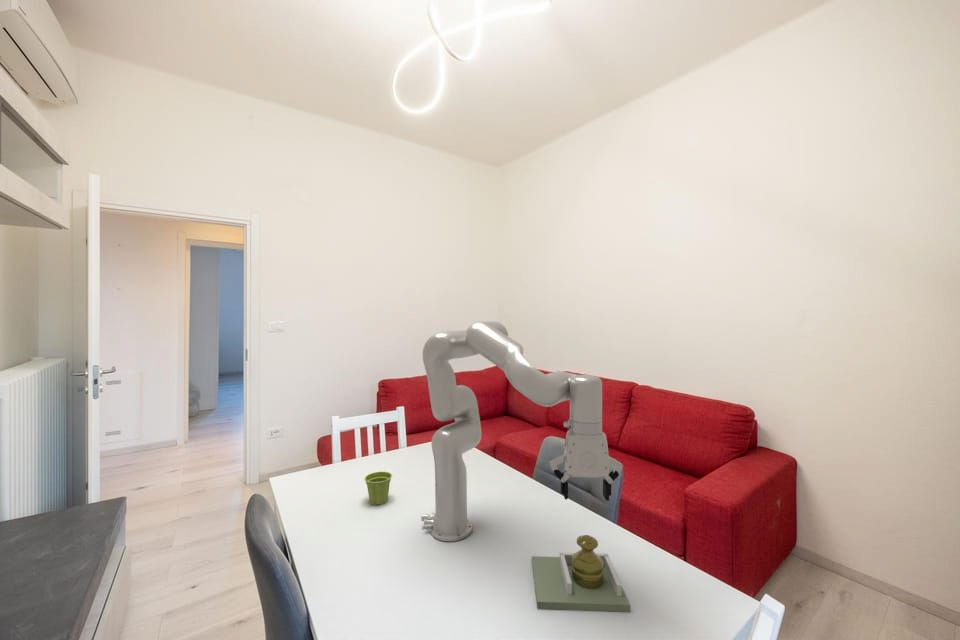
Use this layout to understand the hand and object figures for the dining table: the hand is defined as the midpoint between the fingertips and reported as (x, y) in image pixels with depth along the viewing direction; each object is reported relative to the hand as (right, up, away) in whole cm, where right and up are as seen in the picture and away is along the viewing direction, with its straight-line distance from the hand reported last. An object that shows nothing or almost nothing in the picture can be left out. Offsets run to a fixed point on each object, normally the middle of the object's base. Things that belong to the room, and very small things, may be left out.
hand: (585, 497), depth 92 cm
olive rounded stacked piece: (0, -19, -1) cm, 19 cm away
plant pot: (-61, -21, +42) cm, 77 cm away
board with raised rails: (-3, -20, -1) cm, 21 cm away
